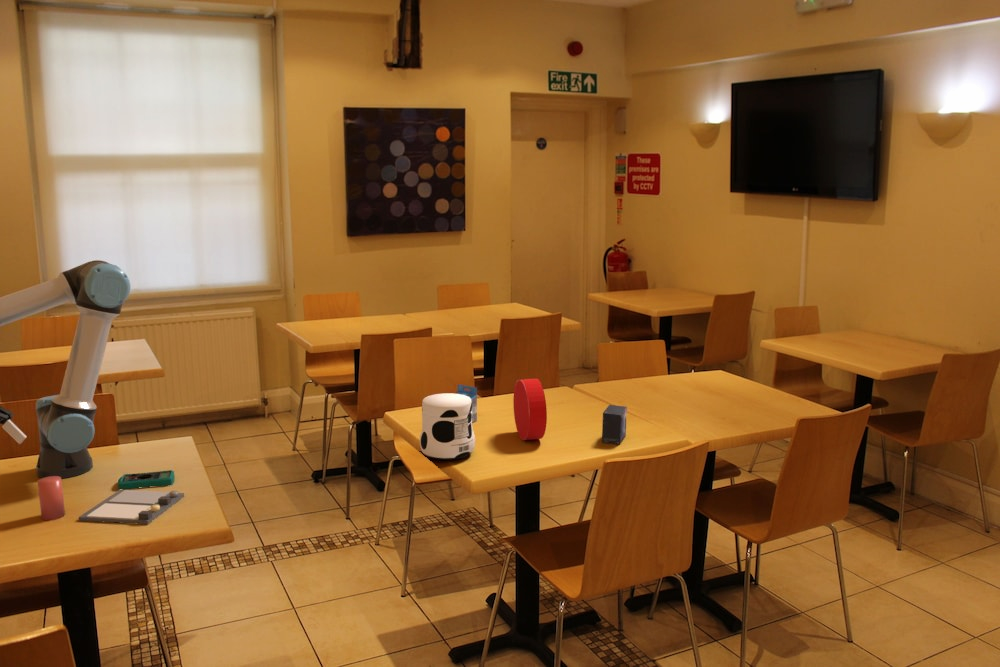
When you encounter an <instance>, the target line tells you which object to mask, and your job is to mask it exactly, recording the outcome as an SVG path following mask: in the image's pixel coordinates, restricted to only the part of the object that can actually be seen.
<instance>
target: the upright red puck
mask: <svg viewBox="0 0 1000 667" xmlns="http://www.w3.org/2000/svg"><path fill="white" fill-rule="evenodd" d="M513 389H514V390H513V399H512V400H513V415H514V423H515V427H516V432H517V434H518V437H519V438H520V440H522V441H528V440H529V441H530V440H541V439H543V438H544V436H545V434H546V429H547V423H548V422H547V420H548V415H547V414H548V413H547V409H548V408H547V403H546V402H547V401H546V394H545V391H544V387H543V385H542V382H541V381H540V379H539V378H525V379H518V380H516V382H515V384H514V388H513Z"/></svg>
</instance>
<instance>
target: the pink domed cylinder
mask: <svg viewBox="0 0 1000 667" xmlns="http://www.w3.org/2000/svg"><path fill="white" fill-rule="evenodd" d="M37 491H38V498H39V499H38V500H39V506H40V507H39V509H40V515H41V519H42V520H43V521H56V520H59V519H61V517H62V518H64V517H65V516H64V515H66V511H65V510H66V509H65V500H64V492H63V482H62V478H61V477H59V476H50V477H45V478H40V479H38V480H37Z"/></svg>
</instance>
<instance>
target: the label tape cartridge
mask: <svg viewBox="0 0 1000 667" xmlns="http://www.w3.org/2000/svg"><path fill="white" fill-rule="evenodd" d="M467 389H468V390H467ZM454 394H462V395H466V396H468V397H470V398H471V401H472V424H473V423H476V422H477V421H478V411H477V410H478V387H475V386H469V385H464V384H457V391H456V392H455V393H454Z"/></svg>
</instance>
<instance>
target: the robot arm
mask: <svg viewBox="0 0 1000 667" xmlns="http://www.w3.org/2000/svg"><path fill="white" fill-rule="evenodd" d="M130 292H131V282H130V279H129V277H128V275H127V273H126V272H125V271H124V270H123V269H122V268H121V267H119V266H118V265H116V264H113V263H110V262H107V261H104V260H100V259H99V260H97V259H96V260H92V261H91V260H90V261H87V262H85V263H82V264H80V265H78V266H77V265H76V266H75V267H73V268H70V269H68V270H64V271H62V272H59V275H58V276H57V277H55V278H52V279H49V280H47V281H44V282H41V283H38V284H36V285H35V284H34V285H33V286H29V287H27V288H24V289H21V290H18V291H14V292H12V293H9V294H7V295H3V296H1V297H0V327H2V326H4V325H8V324H10V323H14V322H16V321H19V320H22V319H24V318H27V317H30V316H33V315H36V314H39V313H41V312H44V311H47V310H50V309H53V308H56V307H58V306H61V305H63V304H66V303H71V304H75V306H76V307H77V309H78V311H79V316H78V320H77V324H76V328H75V333H74V337H73V341H72V345H71V349H70V352H69V357H68V360H67V365H66V368H65V373H64V375H63V376H64V377H63V380H62V384H61V387H60V388H61V389H60V392H59V394H55V395H48V396H44V397H41V398H39V399H37V400H36V402H35V411H36V417H37V418H36V419H37V426H38V428H37V429H38V436H39V444H40V451H39V455H38V457H37V458H38V459H37V461H36V468H35V469H36V476H37V477H39V478H40V479H42V478H45V477H50V476H59V477H61V479H66V478H72V477H76V476H80V475H81V474H85V473H87V472H89V471H90V469H91V468H92V469H93V466H94V465H93V458H92V456H91V454H90V452H89V450H88V448H87V447H88V446H89V445H90V444H91V442H92V441H93V439H94V437H95V432H96V431H95V425H94V419H95V417H96V416H95V415H96V411H97V408H98V406H97V405H96V403H95V402H94V400H93V399H94V396H95V391H96V386H97V383H98V380H99V376H100V372H101V367H102V364H103V360H104V356H105V352H106V347H107V344H108V340H109V336H110V331H111V328H112V324H113V320H114V319H115V318H117V317H118V316H120V315H121V312H122V308H123V304H124V303H125V301H126V300H127V299H128V298H129V295H130ZM14 415H15V414H14V413H13V412H12V411H10V410H8V409H6V407H5V408H4V407H2V406H1V405H0V425H2V426H1V427H2V429H3V430H4V431H5V432H6V433H8V435H9V436H10V437H11V438H13V440H14V441H16V443H18V445H21V444H22V443H23V442H24V441H25V440H26V439H27V438H28V437H27V435H26V434H25V433H24V432H23V431H22V430H21V429H20V428H19V426H18V425H17V424H16V423H15V422H14V421H13V420H12V419H13V417H14ZM92 469H91V470H92Z"/></svg>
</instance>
